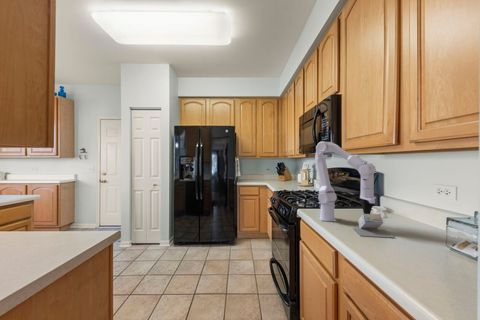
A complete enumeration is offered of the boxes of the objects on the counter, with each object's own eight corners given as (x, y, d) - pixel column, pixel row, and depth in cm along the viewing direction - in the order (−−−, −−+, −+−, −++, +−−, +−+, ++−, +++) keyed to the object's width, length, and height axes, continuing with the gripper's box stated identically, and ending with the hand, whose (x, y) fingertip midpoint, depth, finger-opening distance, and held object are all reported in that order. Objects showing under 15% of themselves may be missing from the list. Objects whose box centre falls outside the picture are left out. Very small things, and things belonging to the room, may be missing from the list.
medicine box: (374, 221, 116) (381, 213, 109) (376, 229, 114) (383, 222, 107) (357, 220, 117) (363, 213, 110) (359, 229, 115) (365, 222, 108)
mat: (352, 228, 115) (352, 228, 115) (384, 230, 112) (384, 229, 112) (360, 236, 104) (360, 235, 104) (394, 238, 101) (394, 237, 101)
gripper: (382, 190, 108) (381, 219, 108) (370, 186, 122) (370, 212, 122) (365, 189, 109) (365, 218, 109) (355, 186, 123) (355, 211, 123)
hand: (366, 215), depth 115 cm, fingers closed
